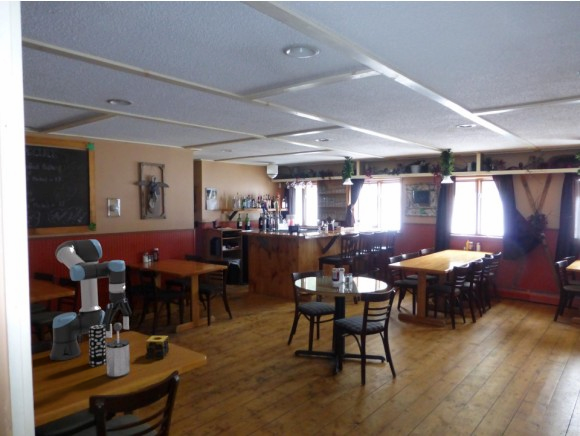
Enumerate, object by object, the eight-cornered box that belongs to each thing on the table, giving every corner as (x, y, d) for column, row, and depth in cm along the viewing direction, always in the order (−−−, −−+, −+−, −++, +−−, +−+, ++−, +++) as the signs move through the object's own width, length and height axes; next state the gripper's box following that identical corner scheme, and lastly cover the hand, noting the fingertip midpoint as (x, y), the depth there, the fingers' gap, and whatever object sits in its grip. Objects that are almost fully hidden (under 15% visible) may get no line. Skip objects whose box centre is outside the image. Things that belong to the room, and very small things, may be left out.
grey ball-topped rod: (106, 372, 211) (106, 324, 210) (116, 366, 218) (115, 320, 217) (120, 374, 209) (119, 325, 208) (129, 368, 216) (128, 321, 215)
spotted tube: (99, 367, 222) (99, 329, 221) (85, 365, 223) (85, 328, 223) (109, 361, 230) (109, 325, 229) (96, 359, 232) (95, 324, 231)
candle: (163, 359, 233) (163, 341, 233) (145, 359, 233) (145, 341, 233) (169, 352, 243) (169, 335, 243) (151, 352, 244) (151, 335, 243)
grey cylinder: (102, 376, 210) (102, 345, 209) (119, 366, 223) (118, 336, 222) (121, 379, 207) (120, 347, 207) (136, 368, 220) (136, 338, 219)
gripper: (107, 297, 199) (108, 341, 200) (138, 286, 223) (138, 326, 224) (93, 296, 200) (94, 340, 201) (125, 285, 225) (126, 325, 226)
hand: (117, 333), depth 213 cm, fingers open, 13 cm apart
